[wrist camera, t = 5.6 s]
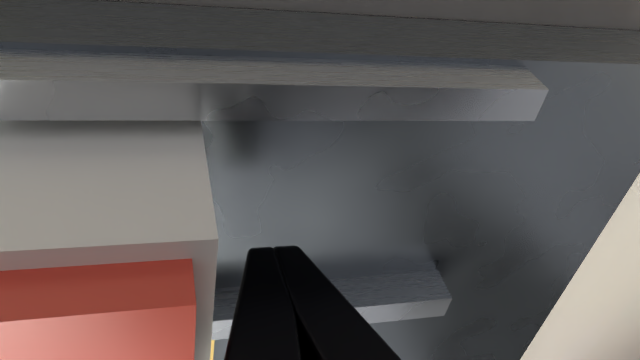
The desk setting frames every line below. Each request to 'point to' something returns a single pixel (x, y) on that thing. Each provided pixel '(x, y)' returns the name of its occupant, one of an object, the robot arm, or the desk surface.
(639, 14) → the desk surface
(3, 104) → the panel
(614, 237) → the desk surface
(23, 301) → the breaker toggle
